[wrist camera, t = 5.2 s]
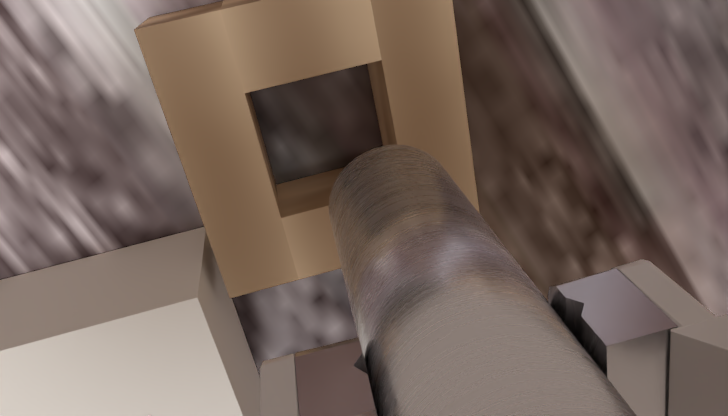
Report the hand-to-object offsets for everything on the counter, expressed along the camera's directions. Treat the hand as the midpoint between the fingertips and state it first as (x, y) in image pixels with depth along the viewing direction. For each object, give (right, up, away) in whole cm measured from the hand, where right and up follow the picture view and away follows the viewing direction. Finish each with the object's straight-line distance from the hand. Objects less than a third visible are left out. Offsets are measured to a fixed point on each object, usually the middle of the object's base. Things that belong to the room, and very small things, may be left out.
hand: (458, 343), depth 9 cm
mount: (-3, +5, +12) cm, 14 cm away
